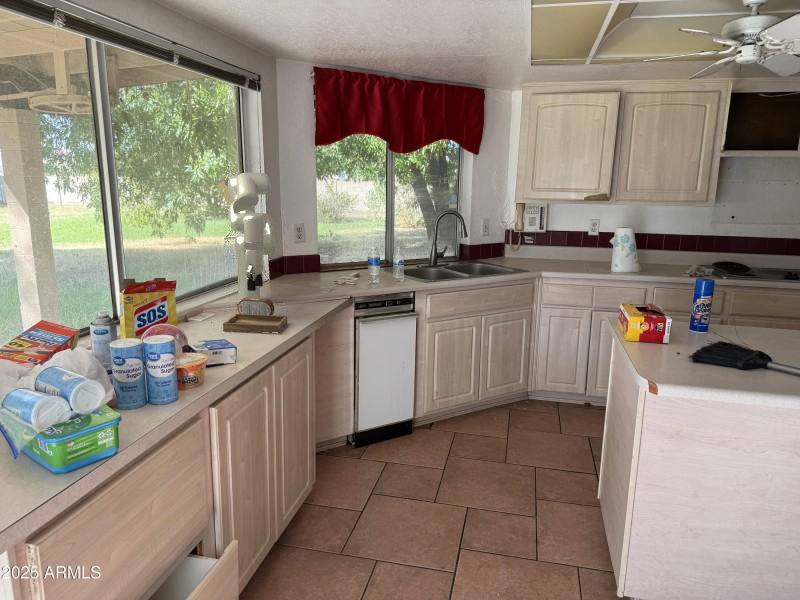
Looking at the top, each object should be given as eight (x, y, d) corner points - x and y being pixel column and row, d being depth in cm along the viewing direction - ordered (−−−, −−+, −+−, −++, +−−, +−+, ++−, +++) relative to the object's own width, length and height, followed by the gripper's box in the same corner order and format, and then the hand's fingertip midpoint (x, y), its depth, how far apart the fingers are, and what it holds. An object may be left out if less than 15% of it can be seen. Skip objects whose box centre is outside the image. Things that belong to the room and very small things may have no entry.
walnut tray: (236, 320, 216) (235, 313, 215) (287, 323, 215) (287, 316, 215) (223, 331, 202) (222, 323, 201) (277, 333, 201) (277, 326, 201)
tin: (274, 318, 222) (274, 298, 220) (272, 320, 219) (272, 300, 217) (239, 316, 224) (239, 296, 222) (236, 317, 221) (236, 297, 219)
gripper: (251, 243, 223) (252, 284, 226) (237, 248, 206) (239, 292, 209) (269, 244, 223) (270, 285, 226) (257, 248, 206) (258, 292, 209)
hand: (255, 288), depth 218 cm, fingers open, 9 cm apart
